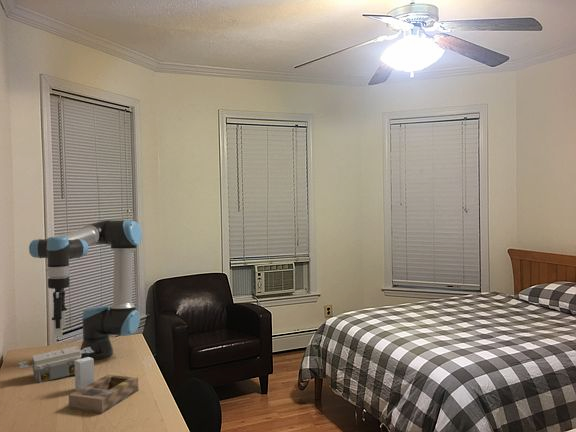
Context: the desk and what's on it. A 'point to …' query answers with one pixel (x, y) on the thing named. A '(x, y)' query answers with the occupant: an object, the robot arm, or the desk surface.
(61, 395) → the desk surface
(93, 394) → the socket panel
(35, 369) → the electrical outlet
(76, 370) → the skincare box
